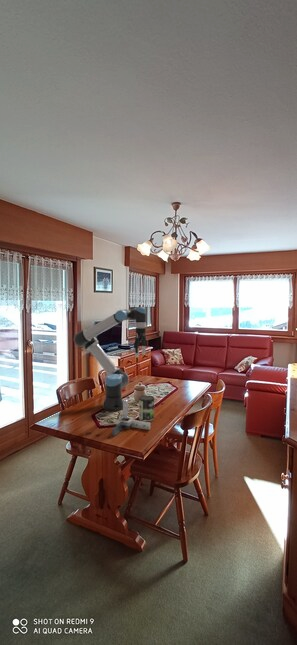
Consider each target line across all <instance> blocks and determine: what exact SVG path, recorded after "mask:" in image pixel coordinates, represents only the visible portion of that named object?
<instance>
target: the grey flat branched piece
mask: <svg viewBox="0 0 297 645" xmlns="http://www.w3.org/2000/svg"><path fill="white" fill-rule="evenodd" d="M151 422H152V421H142V420H137V419H135V417H132V416H128V421H123V415H122V416H120V417H119V418H118V419H116V420H115V424H116V425H115V426H114V427H113V428H112V430H111V432H112V436H113V437H116V436H117V435H118V434H119V433H120V432H122V431H123V430H124V429H127V430H130V429H131V428H137V429H141V430H142V429H143V430H151V424H152V423H151Z"/></svg>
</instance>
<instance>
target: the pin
mask: <svg viewBox="0 0 297 645" xmlns="http://www.w3.org/2000/svg"><path fill="white" fill-rule="evenodd" d="M122 400H123V409H122V416H123V421H128V417H129V400H128V399H122Z"/></svg>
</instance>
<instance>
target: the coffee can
mask: <svg viewBox="0 0 297 645" xmlns="http://www.w3.org/2000/svg"><path fill="white" fill-rule="evenodd" d="M138 420H139V421H144V422H153V420H155V396H153V395H147V394H145V395H141V396H139V397H138Z"/></svg>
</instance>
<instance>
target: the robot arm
mask: <svg viewBox="0 0 297 645" xmlns="http://www.w3.org/2000/svg"><path fill="white" fill-rule="evenodd" d="M146 315H147V309H146V307H142V306H139V307H138V306H137V307H135V309H119V310H117V311H116V312H115V313H113V314H111V315H110V316H108V317H106V318H104V319H102V320H101V321H99V322H97V323H96V324H93V325H92V326H91V327H89V328H87V329H84V328H83V329H82V330H79V331H78V332H76V333H75V334H74V336H73V342H74V344H75V346H77V347H79V348H84V349H85V350H86V351H89V352H90V354H91V355H92V357H93V358H94V359H95V360H96V361H97V362H98V364H99V365H100V366H101V367H102V369H103V370H104V371H105V373H106V374H107V375H106V377H105V381H104V383H105V389H104V390H105V391H104V392H105V393H104V394H105V396H104V401H103V405H102V409H103V410H105V411H109V412H110V411H111V412H114V411H115V412H116V411H120V410H123V400H124V399H123V397H122V389H124V388H126V386H127V385H128V384H129V382H130V378H129V375H128V374H127V372H124V371H123V370H122V369H121V368H119V367H117V366H116V365H115V363H114V362H113V361H112V360H111V358H110V357H109V356H108V354H106V352H105V350H103V348H102V347H101V345H100V344H99V339H98V336H99V335H100V334H102V333H103V332H105V331H108V330H110V329H111V328H113V327H114V326H116V325H119V324H121V323H122V322H124V321H128V320H129V321H130V320H131V321H132V320H135V334H136V335H135V339H134V344H133V349H134V354H135V355H134V356H135V357H134V358H139V357H140V348H139V347H140V344H142V346H141V355H146V349H147V348H146V347H147V345H148V344H147V338H146V330H147V329H146V326H147V321H146V320H147V316H146Z"/></svg>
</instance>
